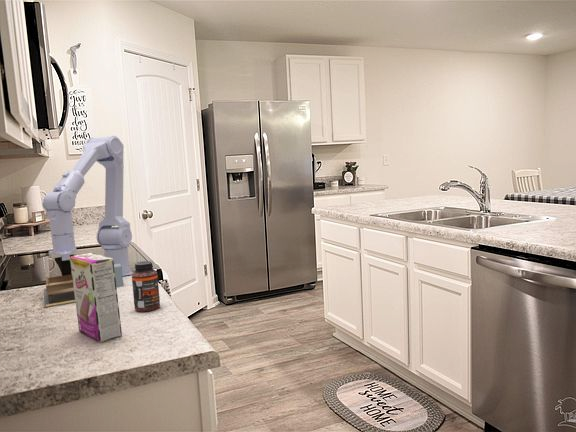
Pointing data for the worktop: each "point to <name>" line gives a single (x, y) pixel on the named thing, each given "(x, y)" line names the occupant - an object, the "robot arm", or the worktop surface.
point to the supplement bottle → (145, 287)
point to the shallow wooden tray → (58, 285)
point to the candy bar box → (96, 296)
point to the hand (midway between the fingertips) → (68, 281)
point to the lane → (59, 299)
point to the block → (118, 275)
